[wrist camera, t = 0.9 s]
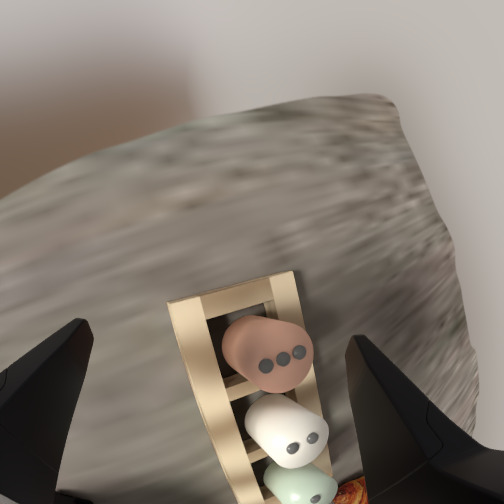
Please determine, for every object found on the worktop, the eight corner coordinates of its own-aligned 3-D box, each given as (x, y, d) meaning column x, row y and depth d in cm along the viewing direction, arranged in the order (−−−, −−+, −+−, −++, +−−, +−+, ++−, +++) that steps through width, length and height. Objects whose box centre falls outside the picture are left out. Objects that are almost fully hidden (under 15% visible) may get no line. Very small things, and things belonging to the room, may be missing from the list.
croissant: (394, 470, 38) (432, 465, 33) (387, 517, 32) (426, 516, 26) (320, 464, 32) (369, 462, 27) (307, 527, 25) (355, 535, 20)
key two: (298, 427, 25) (333, 451, 20) (252, 448, 23) (281, 479, 18) (288, 385, 25) (325, 404, 20) (238, 405, 23) (267, 433, 18)
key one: (309, 476, 25) (340, 500, 20) (269, 496, 23) (296, 525, 18) (302, 445, 25) (336, 469, 20) (258, 466, 23) (286, 497, 18)
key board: (321, 467, 29) (332, 476, 26) (239, 506, 24) (247, 518, 22) (279, 272, 29) (292, 270, 27) (166, 302, 24) (170, 304, 22)
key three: (282, 361, 25) (320, 377, 20) (230, 381, 23) (258, 405, 18) (270, 307, 25) (307, 313, 20) (214, 325, 23) (240, 336, 18)
